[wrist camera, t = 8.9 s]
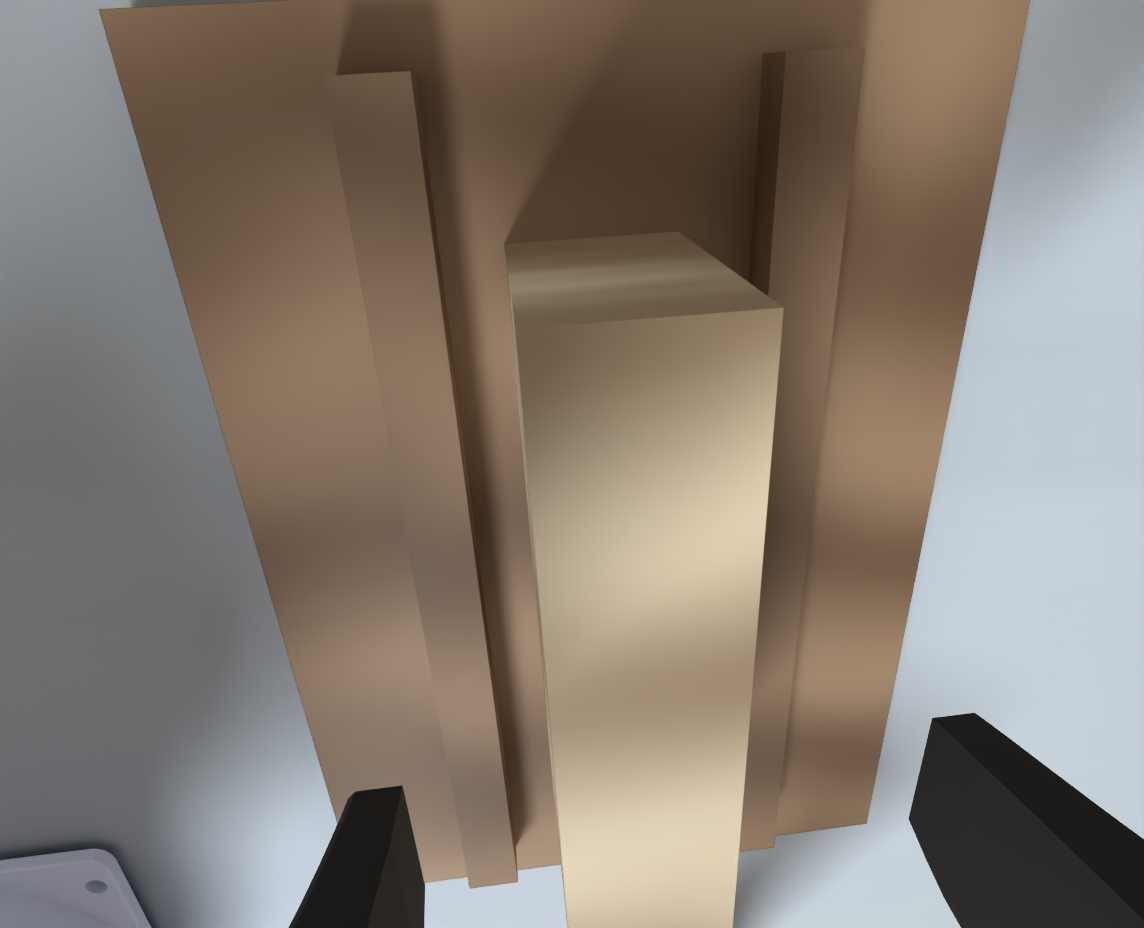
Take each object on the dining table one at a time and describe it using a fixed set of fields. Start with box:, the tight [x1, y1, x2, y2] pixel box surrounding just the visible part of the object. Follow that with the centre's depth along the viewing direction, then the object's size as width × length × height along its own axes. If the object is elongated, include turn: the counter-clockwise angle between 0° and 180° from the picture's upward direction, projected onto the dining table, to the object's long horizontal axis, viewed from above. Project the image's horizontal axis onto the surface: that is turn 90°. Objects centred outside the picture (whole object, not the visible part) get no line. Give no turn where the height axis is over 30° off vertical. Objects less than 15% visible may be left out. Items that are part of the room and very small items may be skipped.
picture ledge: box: [99, 0, 1030, 888], centre depth 16 cm, size 20×14×2 cm
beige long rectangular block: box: [504, 231, 784, 928], centre depth 13 cm, size 12×3×5 cm, turn 3°
